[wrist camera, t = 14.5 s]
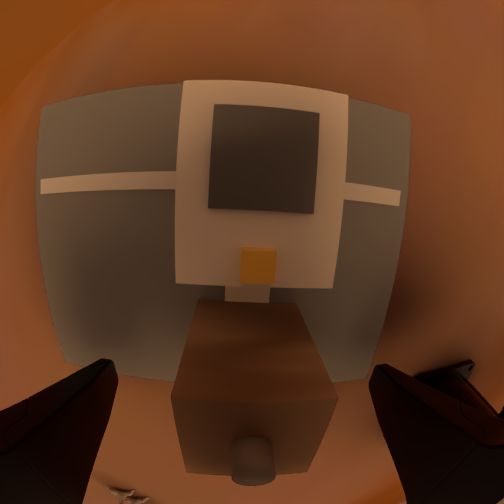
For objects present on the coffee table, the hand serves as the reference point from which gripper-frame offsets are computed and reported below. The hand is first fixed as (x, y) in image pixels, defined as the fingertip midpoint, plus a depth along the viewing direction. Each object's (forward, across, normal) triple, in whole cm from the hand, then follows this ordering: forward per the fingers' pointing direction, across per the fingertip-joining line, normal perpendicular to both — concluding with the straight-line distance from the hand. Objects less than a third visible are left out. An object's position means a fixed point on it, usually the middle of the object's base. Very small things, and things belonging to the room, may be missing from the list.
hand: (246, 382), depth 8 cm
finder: (+2, 0, -6) cm, 6 cm away
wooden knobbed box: (+2, 0, 0) cm, 2 cm away
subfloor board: (+4, +2, -4) cm, 6 cm away
